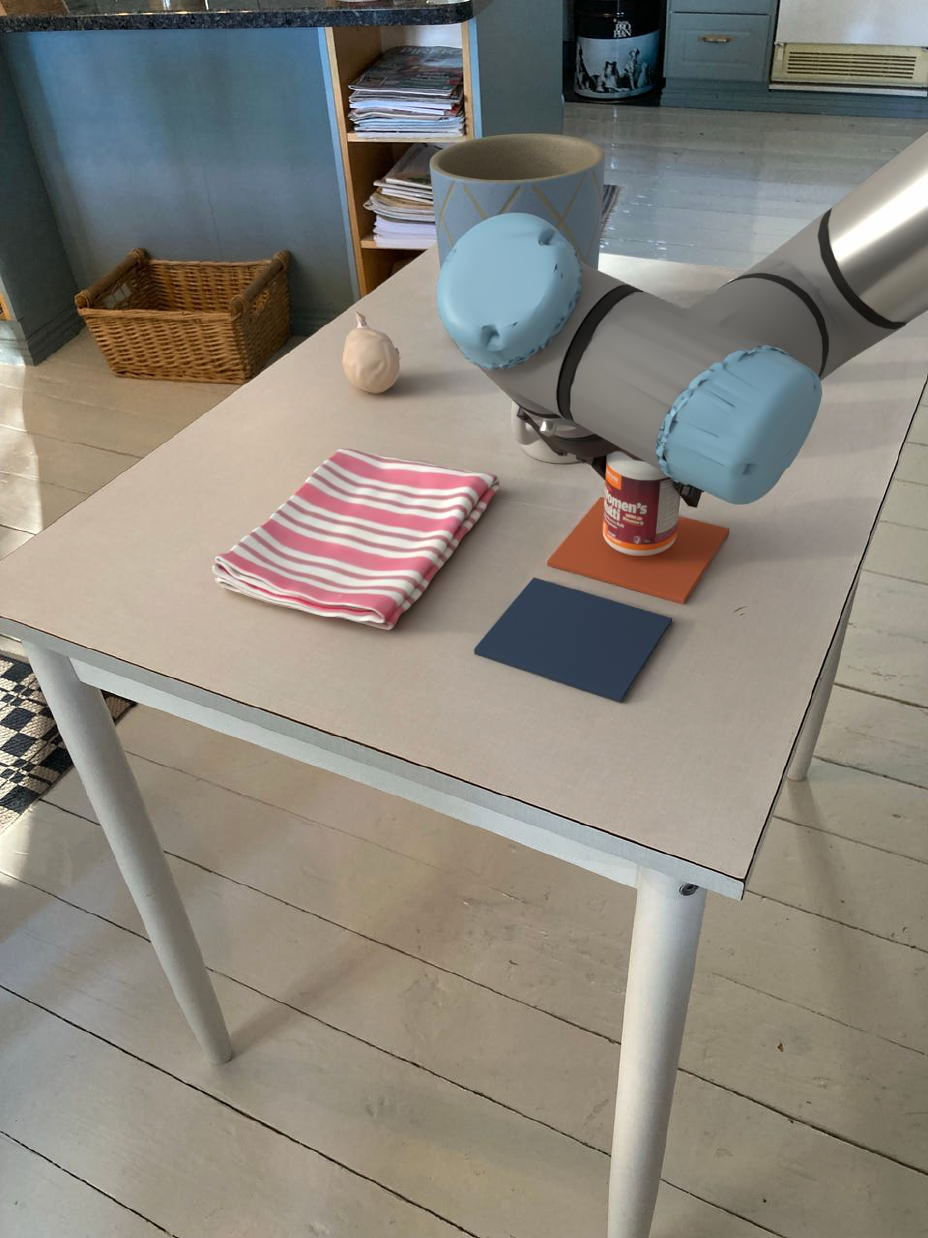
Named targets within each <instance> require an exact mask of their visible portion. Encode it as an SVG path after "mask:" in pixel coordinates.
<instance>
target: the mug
mask: <svg viewBox="0 0 928 1238" xmlns="http://www.w3.org/2000/svg"><path fill="white" fill-rule="evenodd" d="M510 408H511V410H510V418H511V428H512V429H511V430H512V432H513V433H512V434H513V437H514V439H515V440H516V441H517V443H518V444H520V447H521V449H522V450H523V452H524V453H525V454H526V455H527V456H529V457H530V458H532V459H535V460H537V461H540V462H545V463H548V464H549V463H550V464H561V465H562V464H575V463H580V462H579V461H578V460H577V459H576V455H573V454H570V453H568V455H567V456H558V455H557V454H556V453H554V452H553V451H552V450H551V449H550V448H549V446H548V445H547V444H546V443H545V442H544V441H543V439H542V438H541V437H540V436H539V435H538V433H537V432H536V431H535V430H534V429H533V428H532V426H531V425H529V424H528V423H526V422H524V421H522V420H521V419H520V418H518V417H517V416H516V415H517V412H518V409H519V406H518V405H517V404H516V403H515V402H514V401H513V400H512V399H511V407H510Z"/></svg>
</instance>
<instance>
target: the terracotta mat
mask: <svg viewBox="0 0 928 1238" xmlns="http://www.w3.org/2000/svg"><path fill="white" fill-rule="evenodd" d="M604 497H605V496H600V497H599V498H598V499H597V500H596V502H594V504H593V505H592V506H591V508H589V510H588V511H587V512H586V513H585V515H584V516H583V517H582V518H581V520H580V521H579V522H578V523H577V525H575V527H574V528H573V529H572V531H571V532H569V534H568V535H567V537H566V538H564V540H563V542H561V544H560V545H559V546H558V547H557V549H555V551H554V552H553V553H552V554H551V556H550V557H549V558H548V559H547V561H546V566H548V567H551V568H556V569H559V570H562V571H566V572H570V573H572V574H576V575H580V576H584V577H587V578H591V579H593V580H596V581H600V582H603V583H607V584H612V585H615V586H617V587H622V588H625V589H628V590H632V591H635V592H639V593H643V594H647V595H649V596H654V597H657V598H660V599H663V600H667V601H671V602H674V603H678V604H682V605H684V604H686V601H687V600H688V598H689V597H690V595H691V594H692V592H693V590H694V589H695V587H696V585H697V584H698V582H699V580H700V579H701V578H702V576H703V574H704V573H705V571H706V570H707V568H708V566H709V564H710V563H711V562H712V560H713V558H714V557H715V556H716V554H717V552H718V550H719V549H720V547H721V546H722V544H723V543H724V541H725V539H726V538H727V536H728V535H729V532H730V528H729V527H725V526H720V525H718V524H713V523H709V522H704V521H700V520H696V519H692V518H689V517H685V516H680V515H679V518H678V527H677V535H676V539H675V541H674V543H673V544H672V545H671V546H670V547H669V548H668V549H666V550H665V551H662V552H660V553H657V554H654V555H648V556H633V555H628V554H625V553H622V552H619V551H617V550H615V549H614V548H612V547H611V546H610V545H609V544H608V543H607V542H606V540H605V538H604V536H603V518H604Z"/></svg>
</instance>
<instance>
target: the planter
mask: <svg viewBox="0 0 928 1238" xmlns="http://www.w3.org/2000/svg"><path fill="white" fill-rule="evenodd" d="M605 168H606V152H605V150H604V148H603V147H602V146H600V145H599V144H596V143H595V142H593V141H591V140H587V139H584V138H580V137H577V136H571V135H565V134H564V135H563V134H554V133H508V134H499V135H490V136H483V137H479V138H473V139H468V140H465V141H461V142H457V143H454V144H451V145H449V146H446V147H444V148H442V149H441V150H439V151H438V152H436V153H434V154H433V155H432V157H431V158H430V161H429V173H430V183H431V192H432V204H433V213H434V214H433V215H434V224H435V233H436V234H435V235H436V241H437V250H438V251H437V252H438V259H439V269H440V271H441V268H442V266H443V264H444V262H445V260H446V258H447V255H448V254H449V253H450V252H451V250H452V249H453V247H454V246H455V244H456V243H457V242H458V240H459V239H460V238H461V237H462V236H463V235H464V234H465V233H466V232H468V231H469V230H470V229H471V228H473V227H474V226H476V225H477V224H479V223H481V222H482V221H484V220H486V219H489V218H491V217H494V216H497V215H501V214H506V213H526V214H531V215H535V216H537V217H539V218H542V219H544V220H546V221H547V222H549V223H550V224H551V225H553V226H554V227H555V228H556V229H557V230H558V231H559V233H560V234H561V235H562V236H563V237H565V238H567V239H568V240H569V242H570V245H572V246H574V247H575V248H576V251H577V254H578V257H579V260H580V261H582V262H583V263H585V264H586V265H588V266H590V267H592V268H594V269H596V270H598V271H599V264H600V262H599V261H600V247H601V236H602V235H601V234H602V218H603V205H604V188H605V187H604V185H605V184H604V183H605V170H606V169H605Z"/></svg>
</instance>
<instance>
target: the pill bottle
mask: <svg viewBox="0 0 928 1238" xmlns="http://www.w3.org/2000/svg"><path fill="white" fill-rule="evenodd" d="M673 482H674V480H672V479H671V478H670V477H667V476H666V475H665V474H664V472H662V471H661V470H659V469H657V468H656V467H654V466H652V465H650V464H649V463H647V462H644V461H636V460H633V459H632V458H630V457H629V456H627V455H626V454H624V453H623V452H617V451H616V452H613V453H611V454H608V455H607V457H606V477H605V480H604V496H603V497H604V518H603V536H604V538H605V540H606V542H607V543H608V544H609V545H610V546H611V547H612V548H614V549H615V550H617V551H619V552H622V553H625V554H628V555H633V556H648V555H654V554H657V553H660V552H662V551H665V550H666V549H668V548H669V547H670V546H671V545H672V544H673V543H674V541H675V539H676V535H677V527H678V518H679V516H680V508H681V507H680V505H681V499H682V497H681V496H680V495H679V493H678V492H677V491H676V489H675V488H674V487H673Z"/></svg>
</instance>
